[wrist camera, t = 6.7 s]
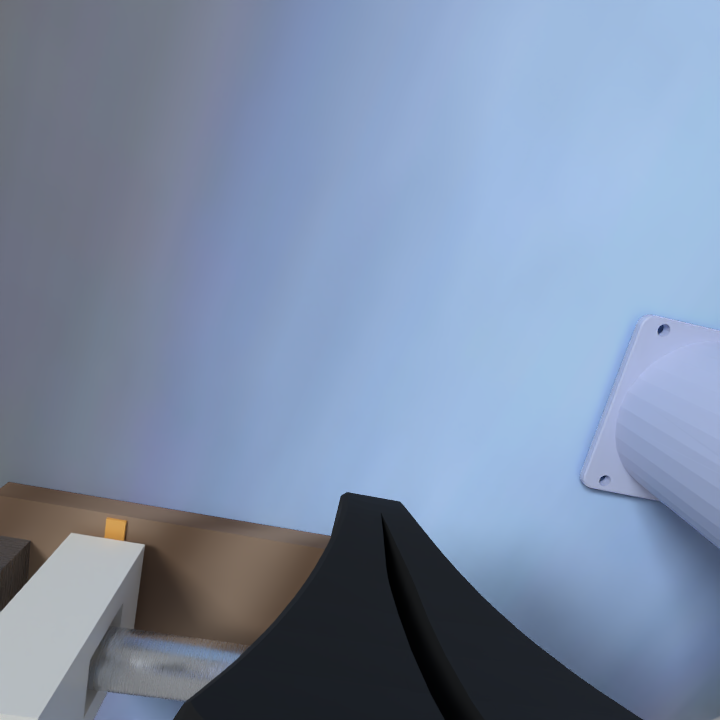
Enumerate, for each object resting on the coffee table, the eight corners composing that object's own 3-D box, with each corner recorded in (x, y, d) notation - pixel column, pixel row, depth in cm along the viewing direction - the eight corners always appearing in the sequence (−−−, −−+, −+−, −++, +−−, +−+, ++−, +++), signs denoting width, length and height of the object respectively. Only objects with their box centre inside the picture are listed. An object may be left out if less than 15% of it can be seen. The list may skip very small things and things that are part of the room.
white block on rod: (145, 544, 20) (38, 718, 13) (131, 643, 21) (27, 852, 14) (71, 532, 20) (-82, 704, 12) (62, 634, 21) (-82, 843, 14)
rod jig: (348, 539, 22) (352, 638, 17) (318, 659, 24) (313, 784, 18) (8, 482, 20) (-109, 570, 15) (1, 614, 22) (-107, 737, 17)
